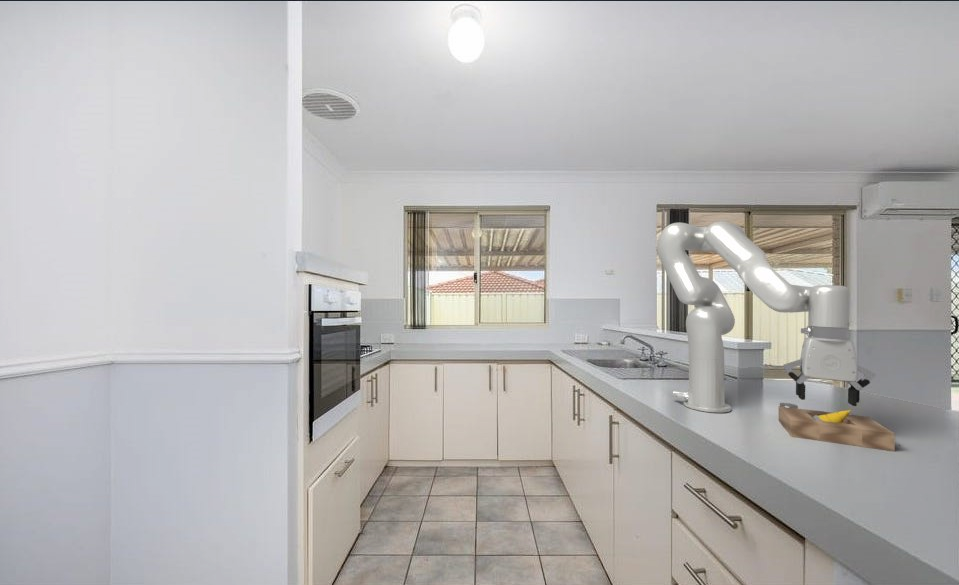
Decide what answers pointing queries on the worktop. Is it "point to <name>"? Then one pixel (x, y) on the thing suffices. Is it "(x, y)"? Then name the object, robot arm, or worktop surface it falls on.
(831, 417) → the yellow cone
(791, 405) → the short pin
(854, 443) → the wooden tray
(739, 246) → the robot arm
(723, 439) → the worktop surface
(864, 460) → the worktop surface
